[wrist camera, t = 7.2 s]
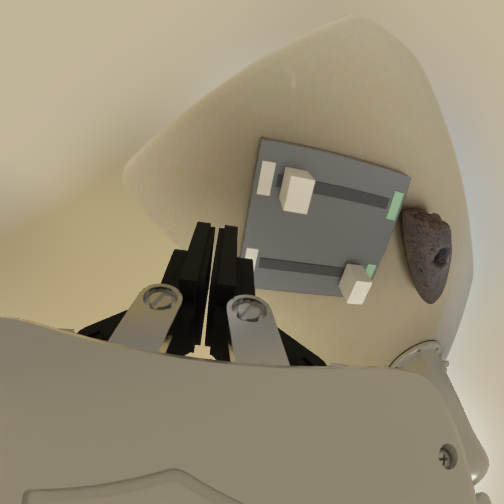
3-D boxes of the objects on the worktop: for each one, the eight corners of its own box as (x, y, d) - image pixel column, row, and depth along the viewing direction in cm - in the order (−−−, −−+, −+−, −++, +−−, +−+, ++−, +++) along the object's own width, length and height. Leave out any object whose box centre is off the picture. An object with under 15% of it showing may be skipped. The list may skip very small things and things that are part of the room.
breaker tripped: (307, 170, 24) (315, 180, 21) (299, 201, 25) (306, 214, 22) (285, 166, 23) (291, 175, 21) (278, 197, 25) (283, 210, 22)
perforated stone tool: (431, 279, 34) (453, 310, 28) (402, 293, 35) (422, 326, 29) (424, 188, 27) (459, 211, 21) (389, 202, 28) (421, 229, 22)
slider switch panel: (402, 172, 26) (412, 178, 24) (358, 288, 34) (363, 299, 32) (260, 137, 24) (262, 139, 22) (236, 275, 32) (236, 286, 30)
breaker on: (362, 265, 29) (372, 282, 26) (353, 286, 30) (362, 304, 28) (347, 263, 29) (356, 280, 26) (338, 285, 30) (346, 303, 27)
